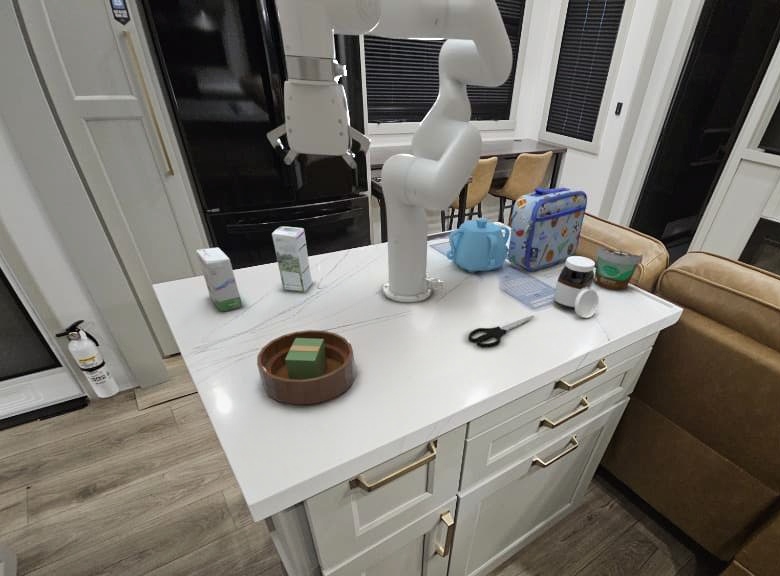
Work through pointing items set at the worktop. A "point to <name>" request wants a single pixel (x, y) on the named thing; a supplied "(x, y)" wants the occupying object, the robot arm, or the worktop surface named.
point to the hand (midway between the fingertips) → (325, 189)
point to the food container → (615, 268)
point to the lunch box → (546, 227)
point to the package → (306, 359)
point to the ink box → (219, 278)
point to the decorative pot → (478, 245)
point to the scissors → (494, 333)
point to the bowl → (314, 388)
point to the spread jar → (577, 287)
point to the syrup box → (292, 258)
